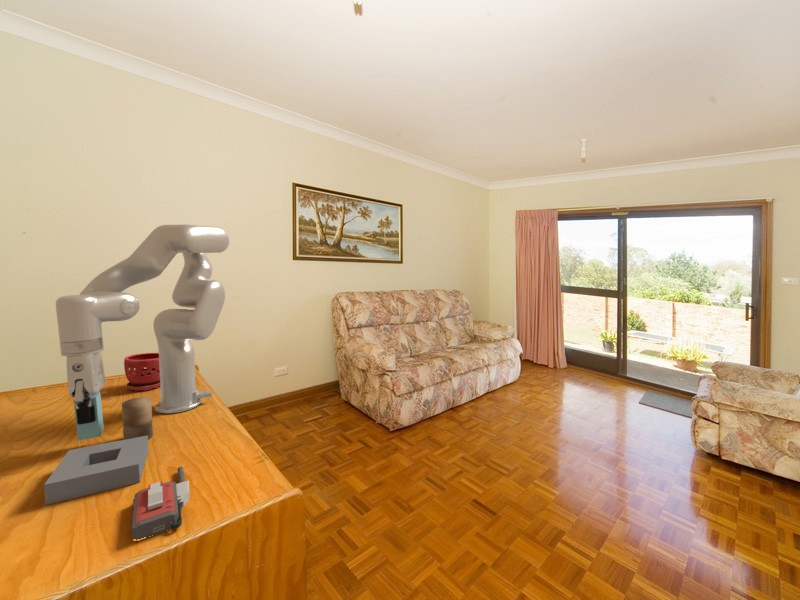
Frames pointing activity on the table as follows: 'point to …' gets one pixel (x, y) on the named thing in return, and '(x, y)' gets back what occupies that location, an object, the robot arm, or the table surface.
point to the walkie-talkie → (159, 507)
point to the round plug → (137, 418)
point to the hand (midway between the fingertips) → (89, 418)
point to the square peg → (94, 427)
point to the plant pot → (142, 371)
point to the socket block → (97, 469)
